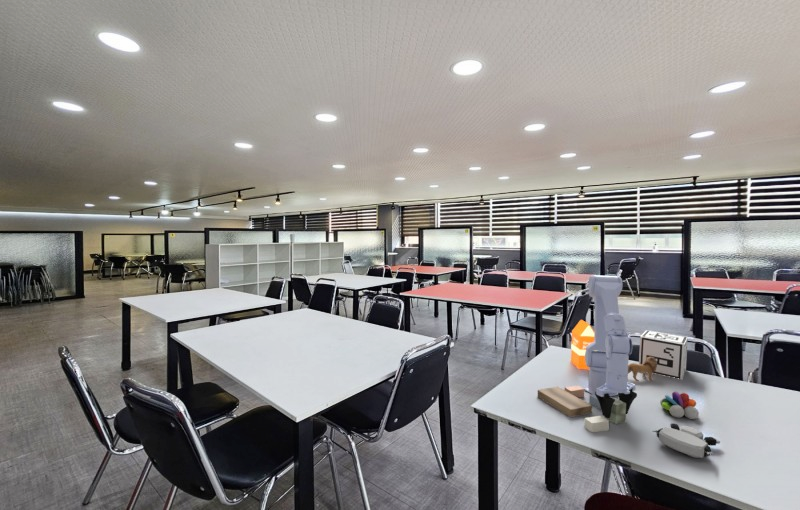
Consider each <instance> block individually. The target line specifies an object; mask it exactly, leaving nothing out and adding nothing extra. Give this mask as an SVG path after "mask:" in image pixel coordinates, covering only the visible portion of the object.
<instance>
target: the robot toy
mask: <svg viewBox="0 0 800 510" xmlns="http://www.w3.org/2000/svg"><path fill="white" fill-rule="evenodd" d="M669 425H670V427H663V428H659V429H658V430H653V429H652V430H651V432H652V433H655V434H656V437H657V438H658V440H659V441H660V442H661V443H662V444H663V445H665V446H667V448H670V449H673V450H675V451H676V452H680V453H682V454H685V455H688V456H689V457H691V458H694V459H697V458H698V459H703V457H704V458H708V457H709V456H711V455H713V454H714V453H713V451H712V449H711V447H712V446H713V447H714V446H717V445H719V444H720V443H721V441H720V440H718V439H717V438H714V437H712V436H705V437H704V434H703V432H702V431H700V430H699V429H697V428H695V427H691V426H687V425H682V426H680V425H678V424H677V423H672V422H670V424H669ZM710 446H711V447H710Z"/></svg>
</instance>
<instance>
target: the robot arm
mask: <svg viewBox="0 0 800 510" xmlns="http://www.w3.org/2000/svg"><path fill="white" fill-rule="evenodd" d="M623 284H624V283H623V278H621V276H620V275H615V276H613V275H598V274H597V275H596V274H595V275H594V274H591V275H590V276H589V278H588V296H589V297H590V298H593V302H594V319H593V320H594V321H593V322H594V323H593V326H594V330H593V331H594V342H592V343H591V344H589V345H587V346H586V352H585V364H586V366H587V367H589V369H588V386H586V387H582V388H583V389H584V392H585V391H586V392H588V393H589V394H590V395H593V394H595V395H596V397H597V399H598V401H599V403H600V407H601V409H600V411H601V416H602V417H604V416H605V417H606V418H610V415H611V408H612V405H613V403H614V401H615V399H613V398H614V396H618V400H620V401H622V402H624V403H626V415H628V413H629V410H630V408H631V406H632V403H633V402H634V400H635V399H636V398H637V397H638V393H637V392H635V391H636V388H637V387H636V384H635V383H633V382H628V379H629V377H628V375H629V374H628V366H629V357H630V356H631V354H632V353H633V341H632V340H633V339H632V337H631V336H630V333H629V332H627V327H626V323H625V318H624V316H622V314H619V313H620V312H619V311H620V310H619V301H618V297H620V295H621V292H622V290H623V288H624V287H623ZM594 350H597V351H594ZM606 418H605V419H606Z"/></svg>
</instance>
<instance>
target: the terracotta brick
mask: <svg viewBox="0 0 800 510" xmlns="http://www.w3.org/2000/svg"><path fill="white" fill-rule="evenodd" d="M583 388H584V387H582V386H580V385H573V386H564V390H565V391H566V392H568V393H570V394H572V395H574V396H576V397H577V398H582V397H583V398H584V397H585V390H584V389H583Z"/></svg>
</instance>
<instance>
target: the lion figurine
mask: <svg viewBox="0 0 800 510" xmlns="http://www.w3.org/2000/svg"><path fill="white" fill-rule="evenodd" d="M656 368H657V361H656V359H655V358H654V357H647V358H646V361H645V363H644V364H639V363H634V362H632V363H628V375H629V374H630V373H631V372H632V375H633V376H632V378H633V380H634V381H635V382H640V379H637V376H638V373H639V374H642V379H647V377H646V374H647V375H648V381H649V380H650V382H653V379H652V376H653V372H655V371H656Z"/></svg>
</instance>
